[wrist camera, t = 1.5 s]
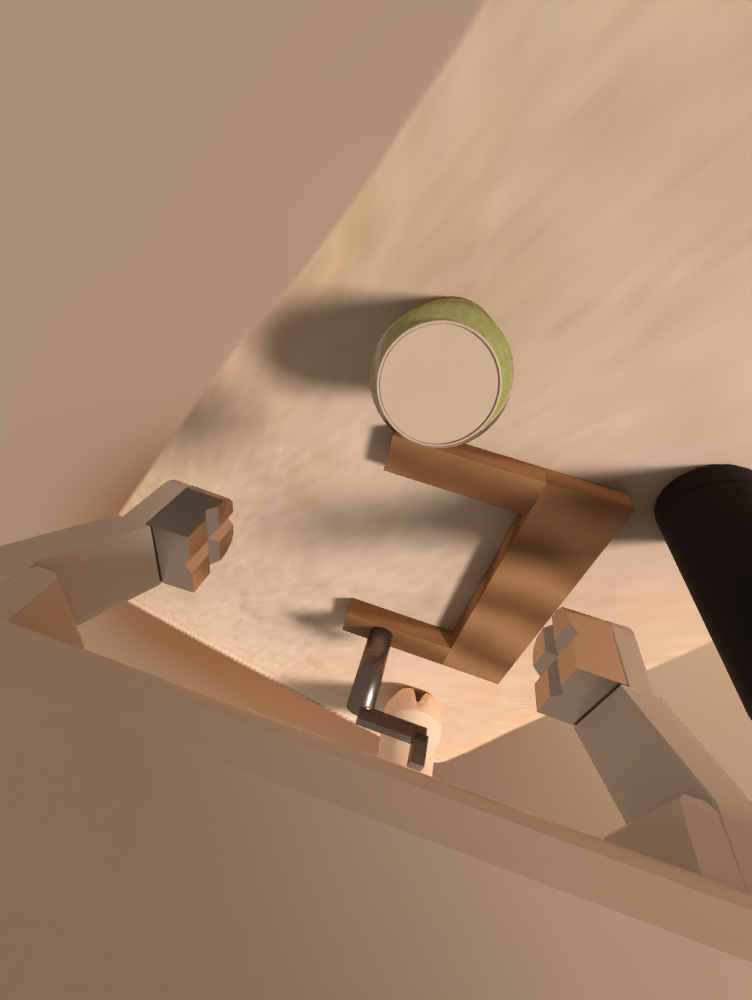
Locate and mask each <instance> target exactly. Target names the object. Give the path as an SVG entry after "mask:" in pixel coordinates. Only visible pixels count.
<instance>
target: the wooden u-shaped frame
mask: <svg viewBox="0 0 752 1000" xmlns="http://www.w3.org/2000/svg"><path fill="white" fill-rule="evenodd" d="M384 470H385V471H388V472H391V473H394V474H397V475H400V476H404V477H407V478H410V479H413V480H416V481H419V482H423V483H426V484H429V485H432V486H435V487H438V488H442V489H445V490H448V491H451V492H454V493H457V494H461V495H464V496H467V497H470V498H473V499H476V500H480V501H483V502H486V503H489V504H492V505H495V506H499V507H502V508H505V509H508V510H511V511H514V512H518V513H519V515H518V517H517V518H516V520H515V522H514V524H513V526H512V527H511V529H510V531H509V533H508V535H507V536H506V538H505V540H504V542H503V544H502V545H501V547H500V549H499V551H498V553H497V554H496V556H495V558H494V560H493V562H492V563H491V565H490V567H489V569H488V570H487V572H486V574H485V576H484V578H483V579H482V581H481V583H480V585H479V587H478V588H477V590H476V592H475V594H474V596H473V597H472V599H471V601H470V603H469V605H468V606H467V608H466V610H465V612H464V614H463V615H462V617H461V619H460V621H459V623H458V624H457V626H456V628H455V630H454V632H450V631H447V630H444V629H441V628H438V627H435V626H433V625H430V624H427V623H424V622H421V621H418V620H415V619H412V618H409V617H406V616H403V615H400V614H397V613H395V612H392V611H389V610H386V609H383V608H380V607H377V606H374V605H371V604H368V603H365V602H362V601H359V600H357V599H354V598H352V601H351V604H350V606H349V609H348V611H347V614H346V618H345V622H344V626H343V630H345V631H347V632H350V633H353V634H356V635H359V636H362V637H365V638H368V636H369V633H370V630H371V629H372V628H373V627H383V628H386V629H387V630H389V631H390V632H391V633H392V636H393V637H392V641H391V645H390V647H393V648H396V649H399V650H402V651H405V652H408V653H411V654H413V655H416V656H419V657H422V658H425V659H428V660H431V661H433V662H436V663H439V664H442V665H445V666H448V667H451V668H453V669H456V670H459V671H462V672H465V673H468V674H471V675H474V676H476V677H479V678H482V679H485V680H488V681H491V682H494V683H496V684H499V682H500V681H501V680H502V678H503V677H504V676H505V675H506V673H507V672H508V671H509V670H510V668H511V667H512V666H513V664H514V663H515V662H516V661H517V659H518V658H519V657H520V655H521V654H522V653H523V652H524V650H525V649H526V648H527V647H528V645H529V644H530V643H531V641H532V640H533V639H534V638H535V636H536V635H537V634H538V633H539V631H540V630H541V629H542V627H543V626H544V625H545V624H546V622H547V621H548V620H549V619H550V617H551V616H552V615H553V613H554V612H555V611H556V610H557V608H558V607H559V606H560V605H561V603H562V602H563V601H564V599H565V598H566V597H567V596H568V594H569V593H570V592H571V591H572V589H573V588H574V587H575V585H576V584H577V583H578V582H579V580H580V579H581V578H582V577H583V575H584V574H585V573H586V571H587V570H588V569H589V568H590V566H591V565H592V564H593V563H594V561H595V560H596V559H597V557H598V556H599V555H600V554H601V552H602V551H603V550H604V549H605V547H606V546H607V545H608V543H609V542H610V541H611V540H612V538H613V537H614V536H615V535H616V533H617V532H618V531H619V529H620V528H621V527H622V526H623V524H624V523H625V522H626V521H627V519H628V518H629V517H630V515H631V514H632V513H633V512H634V508H633V505H632V503H631V501H630V498H629V496H628V494H627V493H624V492H621V491H617V490H614V489H611V488H608V487H604V486H601V485H598V484H594V483H591V482H588V481H585V480H581V479H578V478H575V477H572V476H568V475H565V474H562V473H558V472H555V471H552V470H549V469H545V468H542V467H539V466H536V465H532V464H529V463H526V462H523V461H519V460H516V459H513V458H509V457H506V456H503V455H500V454H496V453H493V452H490V451H487V450H483V449H480V448H477V447H473V446H470V445H467V444H461V445H458V446H454V447H448V448H430V447H424V446H420V445H417V444H414V443H411V442H409V441H408V440H406V439H404V438H402V437H400V436H399V435H398V434H397V433H395V432H394V434H393V436H392V440H391V444H390V448H389V452H388V456H387V460H386V463H385V467H384Z"/></svg>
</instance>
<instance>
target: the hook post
mask: <svg viewBox="0 0 752 1000" xmlns="http://www.w3.org/2000/svg"><path fill="white" fill-rule="evenodd" d="M392 637H393V636H392V633H391V632H390V631H389V630H387V629H386V628H383V627H373V628H372V629H371V630H370V633H369V636H368V639H367V642H366V645H365V649H364V652H363V655H362V658H361V661H360V665H359V668H358V671H357V674H356V677H355V681H354V684H353V687H352V690H351V693H350V697H349V700H348V703H347V708H348V710H349V711H350V712H351V713H353V714H355V715H357V716H358V717H357V720H356V724H357V725H360V726H362V727H365V728H368V729H371V730H373V731H376V732H379V733H382V734H384V735H387V736H390V737H392V738H395V739H398V740H401V741H403V742H406V743H409V744H410V749H409V755H408V761H407V767H409V768H411V769H414V770H417V771H419V772H421V770H422V769H423V768H424V765H425V758H426V751H427V744H428V737H429V736H427V728H425V727H423V726H420V725H417V724H414V723H412V722H409V721H406V720H403V719H401V718H398V717H395V716H392V715H390V714H387V713H384V712H381V711H379V710H376V709H374V708H375V704H376V700H377V696H378V692H379V688H380V684H381V680H382V676H383V672H384V669H385V665H386V661H387V657H388V653H389V649H390V645H391V641H392Z"/></svg>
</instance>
